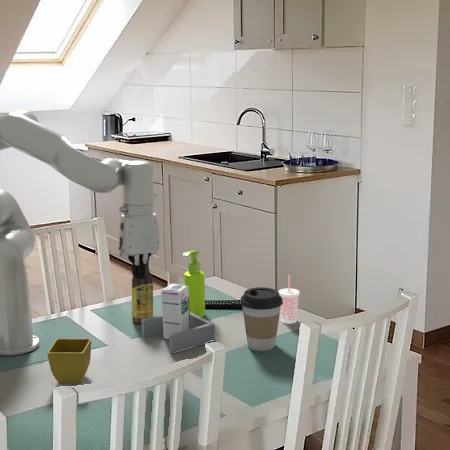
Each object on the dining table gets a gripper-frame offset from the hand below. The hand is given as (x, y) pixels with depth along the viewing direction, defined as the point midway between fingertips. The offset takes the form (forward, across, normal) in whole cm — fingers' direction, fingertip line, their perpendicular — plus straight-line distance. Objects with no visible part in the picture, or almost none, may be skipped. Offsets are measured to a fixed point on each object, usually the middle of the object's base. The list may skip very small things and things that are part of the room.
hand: (138, 277), depth 190 cm
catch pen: (+19, +12, -2) cm, 22 cm away
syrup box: (+19, +12, 0) cm, 23 cm away
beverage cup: (+18, +44, -11) cm, 49 cm away
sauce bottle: (+20, +11, +16) cm, 28 cm away
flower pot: (+20, -23, -7) cm, 31 cm away
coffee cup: (+18, +26, -20) cm, 38 cm away
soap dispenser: (+19, +25, +10) cm, 33 cm away
